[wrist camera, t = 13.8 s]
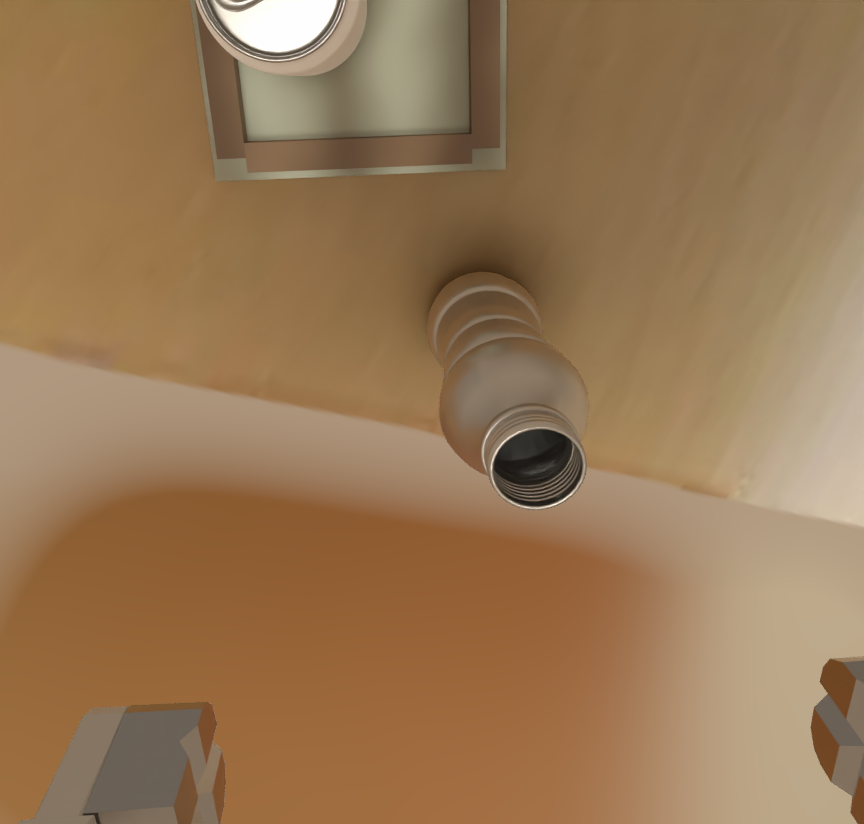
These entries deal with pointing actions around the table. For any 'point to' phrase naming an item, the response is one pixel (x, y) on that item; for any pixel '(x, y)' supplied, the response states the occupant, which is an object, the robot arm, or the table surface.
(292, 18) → the can
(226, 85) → the wooden picture frame
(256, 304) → the table surface
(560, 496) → the plastic bottle
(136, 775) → the robot arm
